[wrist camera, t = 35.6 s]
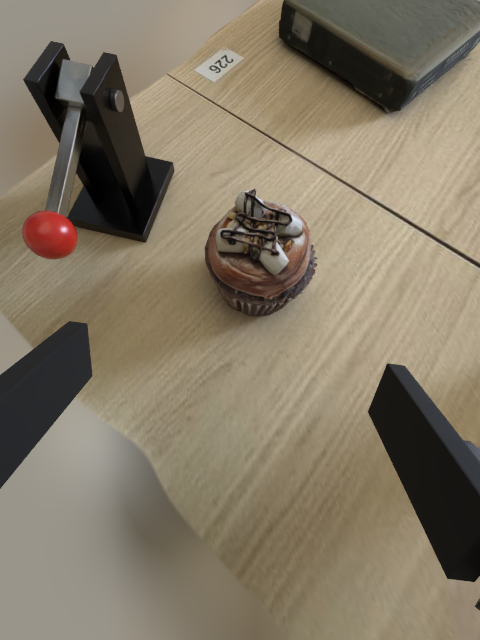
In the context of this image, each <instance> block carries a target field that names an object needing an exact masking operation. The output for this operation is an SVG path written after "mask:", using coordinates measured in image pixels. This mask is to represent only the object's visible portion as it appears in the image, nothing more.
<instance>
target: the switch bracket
mask: <svg viewBox="0 0 480 640" xmlns="http://www.w3.org/2000/svg"><path fill="white" fill-rule="evenodd" d="M63 59H65V60H69V61H70V58H69V56H68V54H67V51H66V49H65V46H64V44H62V43H58V42H53V41H51V42H50V43H49V45H48V46H47V47H46V49H45V50H44V51H43V53H42V54H41V56H40V57H39V58H38V60H37V61H36V63H35V64H34V65H33V67H32V68H31V69H30V71H29V72H28V74H27V75H26V77H25V78H24V79H23V80H24V82H25V84H26V86H27V87H28V89H29V91H30V92H31V94H32V96H33V98H34V100H35V101H36V103H37V105H38V107H39V108H40V110H41V112H42V114H43V115H44V117H45V119H46V120H47V122H48V124H49V126H50V128H51V129H52V131H53V133H54V134H55V136H56V138H57V140H58V141H59V143H60V139H61V135H62V130H63V126H64V121H65V116H66V112H67V110H66V109H65V108H64V107H63V106H62V105H61V104H60V103H59V101H58V100H57V99H56V98H55V93H56V89H57V84H58V79H59V75H60V70H61V65H62V61H63ZM80 95H81V97H82V100H83V102H84V104H85V107H86V109H87V111H88V114H89V116H90V118H91V121H92V122H88V121H87V124H86V129H85V133H84V138H83V142H82V147H81V152H80V156H79V161H78V165H77V170H76V173H77V175H78V177H79V178H80V180H81V182H82V184H83V185H84V186H83V188H82V190H81V192H80V194H79V196H78V198H77V200H76V202H75V203H74V205H73V207H72V209H71V211H70V213H69V215H68V217H67V218H68V219H69V220H70V221H71V222H72V224H73V225H74V226H76V227H81V228H85V229H89V230H94V231H98V232H102V233H107V234H111V235H115V236H120V237H124V238H128V239H133V240H137V241H141V242H146V240H147V238H148V235H149V233H150V230H151V228H152V225H153V223H154V220H155V218H156V215H157V213H158V210H159V208H160V205H161V203H162V200H163V198H164V195H165V193H166V190H167V187H168V185H169V182H170V180H171V177H172V175H173V172H174V167H173V162H169V161H164V160H160V159H155V158H151V157H146V156H145V154H144V150H143V147H142V143H141V140H140V136H139V133H138V129H137V126H136V122H135V119H134V115H133V112H132V108H131V104H130V101H129V97H128V94H127V90H126V87H125V83H124V80H123V76H122V73H121V70H120V66H119V62H118V59H117V55H114V54H110V53H105V52H104V53H103V54H102V56H101V57H100V59H99V61H98V62H97V64H96V65H95V67H94V69H93V70H92V72H91V74H90V75H89V77H88V79H87V80H86V82H85V83H84V85H83V87H82V88H81V90H80Z"/></svg>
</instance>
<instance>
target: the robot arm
mask: <svg viewBox="0 0 480 640" xmlns="http://www.w3.org/2000/svg"><path fill="white" fill-rule="evenodd" d="M91 377H92V367H91V357H90V347H89V337H88V327H87V324H86V323H79V322H71V321H69V322H68V323H66V324H65V325H64V326H63V327H61V328H60V329H59V330H58V331H56V332H55V333H54V334H52V335H51V336H50V337H49V338H47V339H46V340H45V341H43V342H42V343H41V344H40V345H38V346H37V347H36V348H34V349H33V350H32V351H31V352H29V353H28V354H27V355H26V356H24V357H23V358H22V359H20V360H19V361H18V362H16V363H15V364H14V365H13V366H11V367H10V368H9V369H7V371H5V372H4V373H2V374H1V375H0V488H1V487H2V486H3V485H4V483H5V482H6V481H7V480H8V479H9V477H10V476H11V475H12V474H13V472H14V471H15V470H16V468H18V466H19V465H20V464H21V463H22V461H23V460H24V459H25V458H26V457H27V455H28V454H29V453H30V451H31V450H32V449H33V448H34V447H35V445H36V444H37V443H38V442H39V441H40V439H41V438H42V437H43V436H44V434H45V433H46V432H47V431H48V429H49V428H50V427H51V426H52V425H53V423H54V422H55V421H56V420H57V419H58V417H59V416H60V415H61V414H62V412H63V411H64V410H65V409H66V408H67V406H68V405H69V404H70V403H71V401H72V400H73V399H74V398H75V397H76V395H77V394H78V393H79V392H80V390H81V389H82V388H83V387H84V385H85V384H86V383H87V382H88V381H89V379H90V378H91ZM368 413H369V415H370V417H371V419H372V421H373V423H374V426H375V428H376V430H377V432H378V434H379V436H380V438H381V440H382V442H383V444H384V447H385V449H386V451H387V453H388V455H389V457H390V459H391V461H392V463H393V465H394V468H395V470H396V472H397V474H398V476H399V478H400V480H401V482H402V484H403V486H404V489H405V491H406V493H407V495H408V497H409V499H410V501H411V503H412V505H413V507H414V510H415V512H416V514H417V516H418V518H419V520H420V522H421V524H422V526H423V528H424V530H425V533H426V535H427V537H428V539H429V541H430V543H431V545H432V547H433V549H434V551H435V554H436V556H437V558H438V560H439V562H440V564H441V566H442V568H443V570H444V572H445V575H446V577H447V579H455V580H463V581H471V582H475V581H476V580H477V578H478V577H479V576H480V449H479V448H478V447H476V446H475V445H474V444H473V443H471V442H470V441H463V440H462V438H461V437H460V436H459V435H458V433H457V432H456V431H455V429H454V428H453V427H452V426H451V424H450V423H449V422H448V421H447V419H446V418H445V417H444V415H443V414H442V413H441V412H440V410H439V409H438V408H437V406H436V405H435V404H434V403H433V401H432V400H431V399H430V398H429V396H428V395H427V394H426V392H425V391H424V390H423V389H422V387H421V386H420V385H419V384H418V382H417V381H416V380H415V378H414V377H413V376H412V375H411V373H410V372H409V371H408V370H407V368H406V367H405V366H402V365H395V364H387V365H386V368H385V371H384V373H383V376H382V378H381V381H380V383H379V386H378V388H377V391H376V393H375V396H374V398H373V401H372V403H371V406H370V408H369V411H368ZM475 607H476V608H477V609H479V610H480V599H479V600H478V602H477V603H476V605H475Z"/></svg>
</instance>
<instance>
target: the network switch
mask: <svg viewBox="0 0 480 640" xmlns="http://www.w3.org/2000/svg"><path fill="white" fill-rule="evenodd" d="M279 37H280V38H281V39H282V40H283V41H284V43H286V44H287V45H289V46H292V47H294V48H295V49H298V50H300V51H302V52H303V53H304V54H306V55H308V56H309V57H311V58H312V59H314V60H316V61H317V62H319V63H320V64H322V65H323V66H325V67H327V68H328V69H330V70H332V71H333V72H335V73H336V74H338V75H339V76H341V77H342V78H344V79H346V80H348V81H349V82H351V83H352V84H353V86H354V88H355V89H356V90H357V91H359V92H361V93H362V94H364V95H366V96H367V97H369V98H370V99H372V100H373V101H375V102H376V103H377V104H379V105H381V106H382V107H384V109H385V111H386V112H387V113H392V112H395V111H400V110H401V108H403V107H404V106H406V105H407V104H408V103H409V102H410V101H412V100H413V99H414V98H415V97H416V96H417V95H418V94H420V93H421V92H422V91H423V90H425V89H426V88H427V87H429V86H430V85H431V84H432V83H433V82H434V81H436V80H437V79H438V78H439V77H441V76H442V75H443V74H444V73H445V72H447V71H448V70H449V69H450V68H451V67H453V66H454V65H455V64H456V63H457V62H459V61H460V60H462V59H464V58H465V57H466V56H467V55H468V54H469V52H471V51H472V50H473V49H474V48H475V46H476V45H477V44H478V43H479V42H480V2H479V1H477V0H284V2H283V5H282V12H281V19H280V21H279Z"/></svg>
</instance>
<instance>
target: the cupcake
mask: <svg viewBox="0 0 480 640" xmlns="http://www.w3.org/2000/svg"><path fill="white" fill-rule="evenodd" d="M255 195H256V190H255V189H253V190H251V191H248V190H245V191H242V192H241V193H239V194H238V196H237V199H236V201H235V207H234V208H232V209H231V210H230V211H229V212H228V213H227V214H226V215H225V216H224V217H223V218H222V219H221V220H220V221H219V222H218V223H217V224H216V225H215V226H214V227H213V229H212V230H211V232H210V235H209V238H208V241H207V243H206V246H205V260H206V264H207V267H208V269H209V271H210V274H211V276H212V278H213V279H214V281H215V283H216V285H217V287H218V289H219V291H220V293H221V295H222V296H223V298H224V300H225V301H226V302H227V303H228V305H229V306H230V307H232V308H233V309H235V310H237V311H241V312H242V313H244V314H247V315H249V316H262V315H270V314H272V313H274V312H275V311H278V310H279V309H281V308H283V307H284V306H285V305H286V304H287V303H288V302H289V301H291V300H292V299H294V298H295V297H297V296H298V295H299V294H301V293H303V291H304V289H305V288H306V287H307V285H308V284H309V282H310V281H311V279H312V278H313V277H312V276H313V275H314V274H315V269H314V268H315V267H316V266H317V264H316V263H313V262H314V261H315V260H316V259H317V258H316V257H314V254H315V253H316V252H315V250H312V249H313V245H311V236H310V232H309V228H308V226H307V224H306V222H305V221H304V220H303V219H302V217H301V216H300V215H299V214H297V213H296V212H295V211H294V210H292V209H291V208H289V207H287V206H286V205H283V204H280V203H276V202H272V201H262V200H261V199H259V198H257V197H256V196H255Z"/></svg>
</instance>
